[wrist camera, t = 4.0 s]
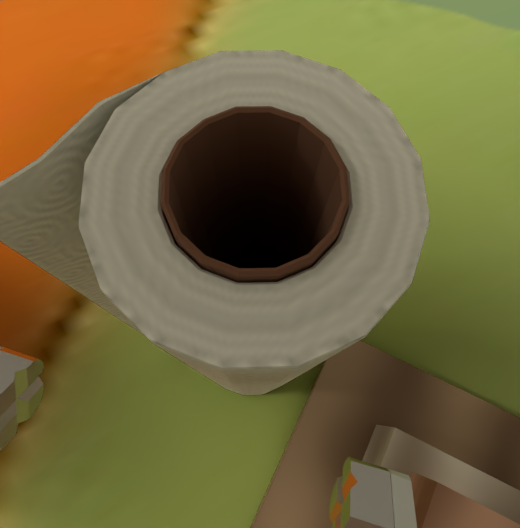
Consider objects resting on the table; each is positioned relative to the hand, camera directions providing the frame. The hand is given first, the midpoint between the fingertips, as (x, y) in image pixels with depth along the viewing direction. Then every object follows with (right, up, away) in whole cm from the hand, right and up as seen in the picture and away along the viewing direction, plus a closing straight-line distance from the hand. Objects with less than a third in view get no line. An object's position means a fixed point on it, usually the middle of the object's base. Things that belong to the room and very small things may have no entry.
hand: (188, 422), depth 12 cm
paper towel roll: (+1, -1, +17) cm, 17 cm away
